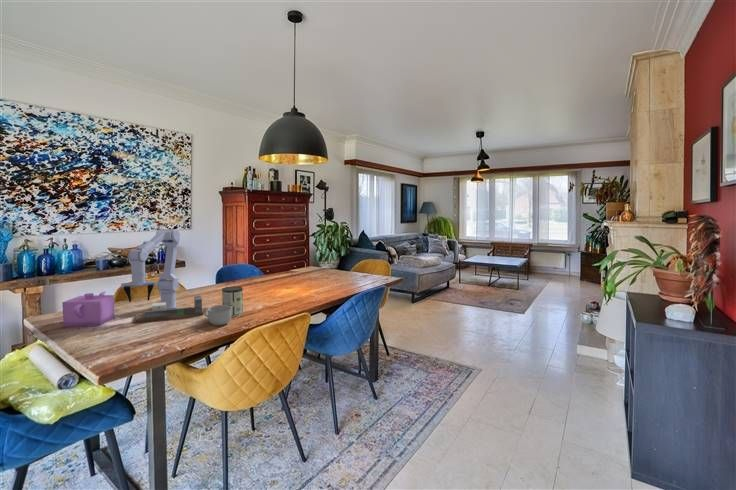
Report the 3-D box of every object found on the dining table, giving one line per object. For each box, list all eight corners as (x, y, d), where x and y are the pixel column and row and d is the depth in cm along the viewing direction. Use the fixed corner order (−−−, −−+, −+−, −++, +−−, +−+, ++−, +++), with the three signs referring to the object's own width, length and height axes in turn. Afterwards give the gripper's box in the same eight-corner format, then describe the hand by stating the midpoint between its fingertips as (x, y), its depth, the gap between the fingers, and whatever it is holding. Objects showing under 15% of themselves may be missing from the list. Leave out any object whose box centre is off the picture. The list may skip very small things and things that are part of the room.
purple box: (121, 313, 187) (120, 287, 186) (93, 329, 163) (92, 299, 162) (89, 314, 185) (88, 287, 184) (56, 330, 160) (54, 299, 159)
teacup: (236, 321, 178) (236, 306, 177) (220, 328, 168) (220, 311, 167) (214, 318, 183) (213, 303, 182) (197, 324, 172) (197, 308, 172)
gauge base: (137, 316, 184) (136, 300, 183) (201, 309, 198) (201, 294, 197) (135, 322, 173) (134, 305, 172) (203, 315, 188) (202, 299, 187)
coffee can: (228, 311, 196) (227, 285, 195) (246, 312, 195) (245, 286, 194) (218, 316, 186) (218, 289, 185) (237, 317, 185) (237, 290, 184)
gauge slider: (152, 312, 184) (152, 303, 184) (166, 311, 187) (165, 302, 187) (152, 317, 177) (151, 307, 176) (166, 315, 179) (165, 306, 179)
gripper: (119, 276, 170) (121, 304, 171) (155, 274, 177) (156, 301, 178) (121, 273, 176) (122, 300, 177) (155, 271, 183) (156, 297, 184)
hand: (139, 300), depth 178 cm, fingers open, 7 cm apart
